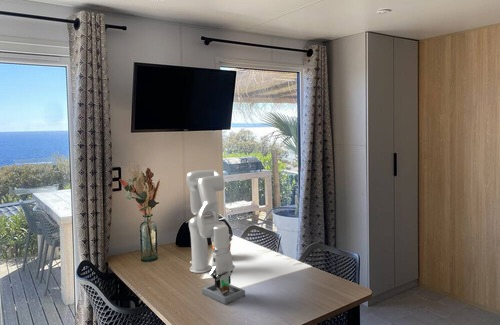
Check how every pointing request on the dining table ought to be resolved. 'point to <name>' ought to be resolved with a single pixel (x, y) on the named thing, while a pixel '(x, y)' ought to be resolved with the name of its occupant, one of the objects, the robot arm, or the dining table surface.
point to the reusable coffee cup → (213, 242)
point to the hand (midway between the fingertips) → (222, 284)
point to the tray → (226, 298)
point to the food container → (224, 283)
